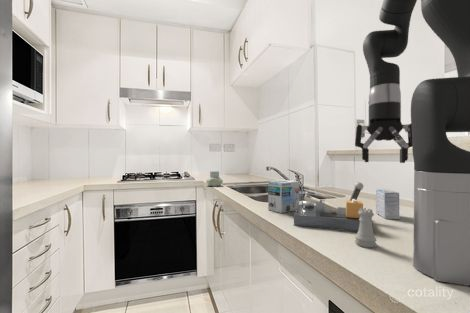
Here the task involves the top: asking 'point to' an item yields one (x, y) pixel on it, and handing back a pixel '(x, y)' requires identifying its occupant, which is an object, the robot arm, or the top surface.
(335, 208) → the rocker paddle
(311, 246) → the top surface
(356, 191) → the lever
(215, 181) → the air freshener
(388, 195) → the medicine box
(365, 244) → the rook chess piece
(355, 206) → the slider knob
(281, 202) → the light bulb box
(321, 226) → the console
